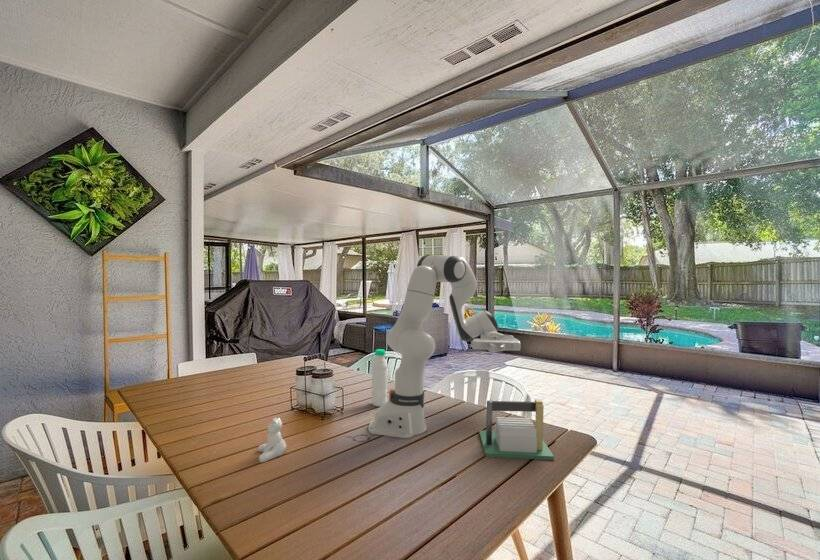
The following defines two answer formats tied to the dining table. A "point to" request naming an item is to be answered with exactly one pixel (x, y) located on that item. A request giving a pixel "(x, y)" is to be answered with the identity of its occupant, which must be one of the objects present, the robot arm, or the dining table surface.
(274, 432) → the white creature statuette
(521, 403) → the retention bar
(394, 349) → the robot arm
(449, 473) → the dining table surface
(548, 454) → the board
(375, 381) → the water bottle
